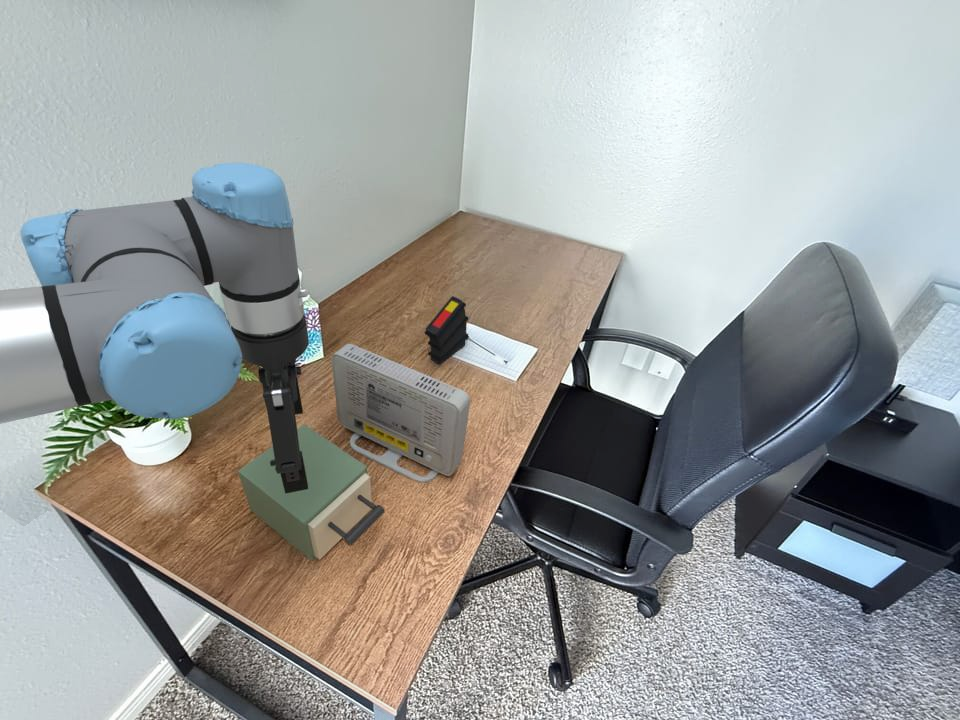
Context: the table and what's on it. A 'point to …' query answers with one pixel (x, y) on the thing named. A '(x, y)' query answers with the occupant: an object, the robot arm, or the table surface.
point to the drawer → (344, 517)
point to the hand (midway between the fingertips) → (294, 448)
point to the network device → (400, 412)
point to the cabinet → (294, 510)
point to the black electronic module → (447, 330)
